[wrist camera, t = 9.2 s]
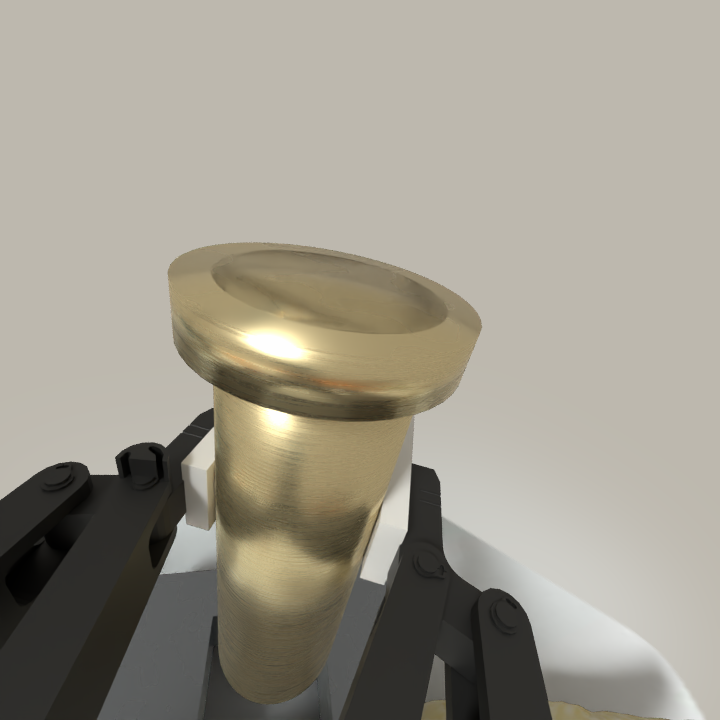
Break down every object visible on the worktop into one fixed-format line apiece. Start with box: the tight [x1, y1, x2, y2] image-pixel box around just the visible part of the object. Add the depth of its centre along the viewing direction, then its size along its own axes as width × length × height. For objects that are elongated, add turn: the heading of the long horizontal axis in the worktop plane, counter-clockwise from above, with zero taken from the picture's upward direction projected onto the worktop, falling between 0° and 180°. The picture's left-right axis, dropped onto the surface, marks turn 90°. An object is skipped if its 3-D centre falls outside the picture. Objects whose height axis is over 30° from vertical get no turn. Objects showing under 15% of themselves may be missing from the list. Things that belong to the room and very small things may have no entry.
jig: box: [97, 559, 387, 720], centre depth 19 cm, size 16×12×4 cm
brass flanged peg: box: [168, 243, 482, 704], centre depth 11 cm, size 6×6×16 cm
